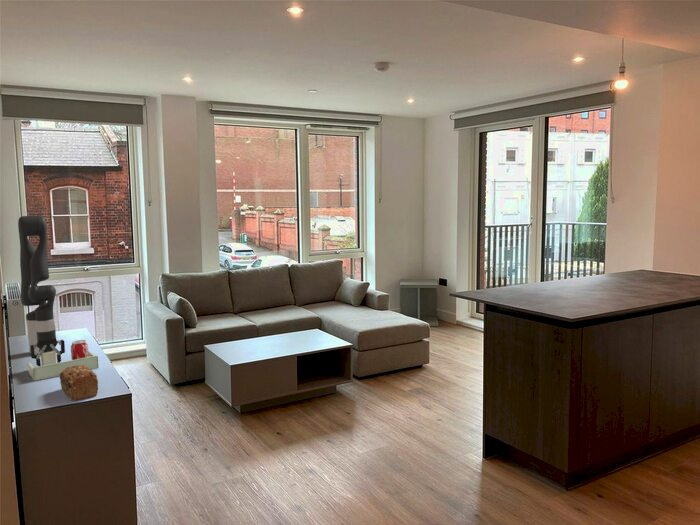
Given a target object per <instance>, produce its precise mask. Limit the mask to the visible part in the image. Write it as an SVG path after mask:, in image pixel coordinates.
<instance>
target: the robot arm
mask: <svg viewBox="0 0 700 525" xmlns="http://www.w3.org/2000/svg"><path fill="white" fill-rule="evenodd" d="M17 226H18V236H19V238H18V239H19V246H20V248H19V264H20V265H19V266H20V280H21V281H20V302H21V305H22V306H23V307H31V306H32V307H34V306H37V307H36V308H35V309H34V310H32V311H30V312H28V313H26V315H25V320H26V329H27V330H26V331H27V340H28V352H29V355H30V358H31V359H35V363H36V367H38V366H42V364H41V355H42V353H43V352H47V351H52V350H54V351H55V352H56V363H60V362H62V355H63V354H65V353H66V345H65V340H64V339H60V340H57V335H56V334H57V333H56V322H55V316H54V304H55V300H56V296H57V290H56V287H55V286H54V285H52V284H47V285H38V284H40V283H41V282H44V281H47V280H49V278H50V271H49V265H48V225H47V220H46V217H45V216H44V215H23V216H20V217H18V222H17ZM35 236H36V237H37V236H38V237H39V239H38V240H39V241H38V244H37V247H36V246H34V245H33V243H32V242H31V241H30V240H29V237H35ZM57 345H59V346H60V350H59V349H57V348H56V347H57Z"/></svg>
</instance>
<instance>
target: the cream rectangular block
mask: <svg viewBox="0 0 700 525" xmlns="http://www.w3.org/2000/svg"><path fill="white" fill-rule="evenodd" d="M40 363H41V366H44V365H49V364H54V363H57V353H56V352H55V351H54V350H52V351H47V352H43V353H42V355H41V356H40Z"/></svg>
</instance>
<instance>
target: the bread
mask: <svg viewBox="0 0 700 525" xmlns="http://www.w3.org/2000/svg"><path fill="white" fill-rule="evenodd" d="M59 380H60V381H59V382H60V387H61V390H62V391H63V393H64V394H65V395H66V396H67V397H68V399H69V400H71V401H79V400H84V399H88V398H93V397H96V396H97V395H98V393H99V385H98V384H99V380H98V375H97V374H96V372H95V371H93V369H91V370H90V369H89V368H88V367H87V366H85V365H77V366H71V367H67V368H66V369H65V370H63V371H62V372H61V373H60V376H59Z"/></svg>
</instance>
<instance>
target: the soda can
mask: <svg viewBox="0 0 700 525" xmlns="http://www.w3.org/2000/svg"><path fill="white" fill-rule="evenodd" d="M70 355H71V358H70V359H71V360H76V359H81V358H86V357H89V345H88V343H87V340H85V339H80V340H78V339H77V340H74V341H72V342H71V345H70Z"/></svg>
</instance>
